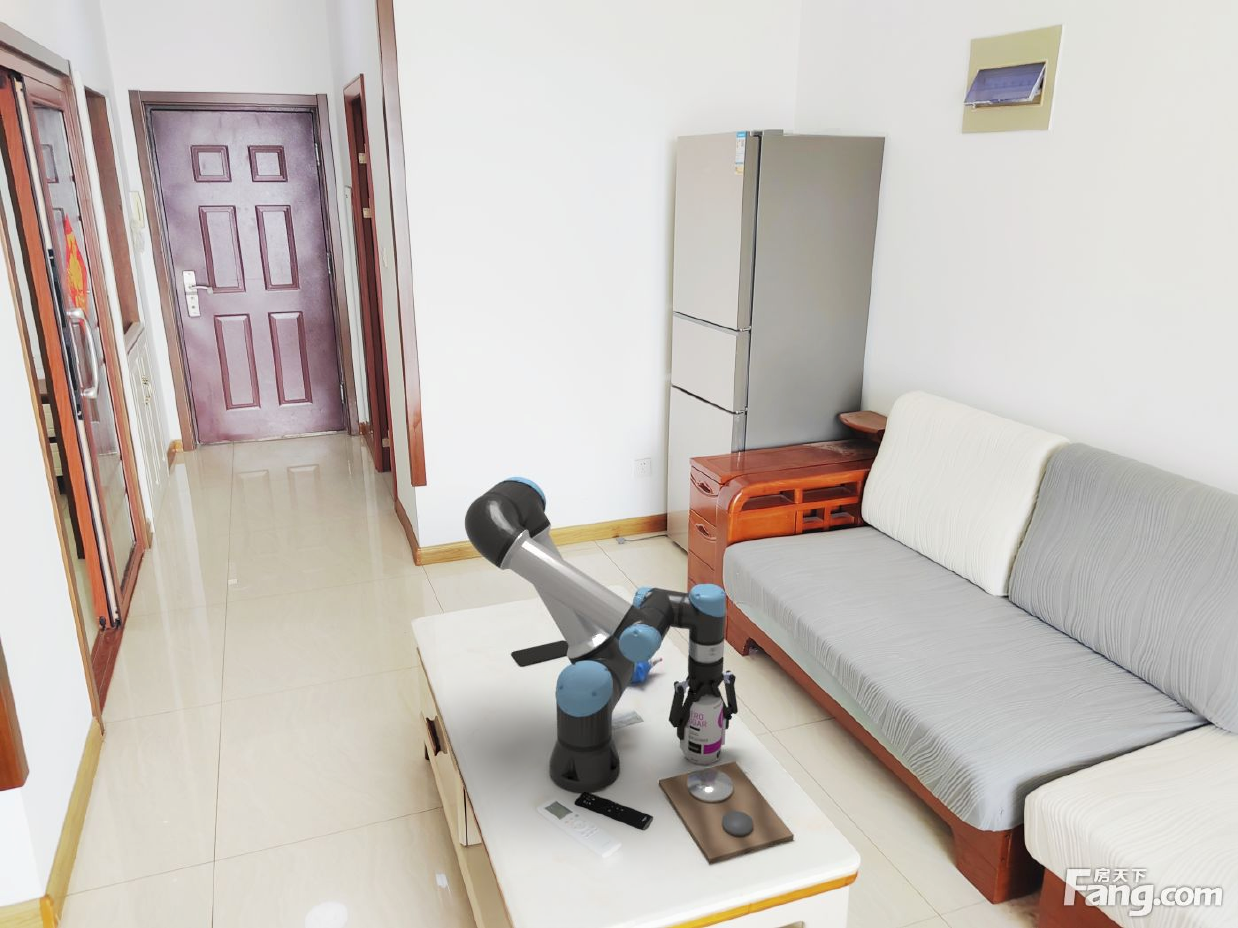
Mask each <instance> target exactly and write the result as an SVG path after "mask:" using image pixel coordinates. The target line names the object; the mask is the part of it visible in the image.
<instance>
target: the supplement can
mask: <svg viewBox="0 0 1238 928" xmlns="http://www.w3.org/2000/svg"><path fill="white" fill-rule="evenodd" d="M685 700H686V698H684V701H685ZM722 715H723V701H722V699H721V697H717V698H716V696H715V695H714V694H711V695H705V696H702V697H701V698H700V700H699V701H698V702H693V704H692V706H691V708H690V718H689V720H688V722H687V724H686V725H687V726H688V727H689V740H688V754H684V756H685V758H687V759H688V760H689V761H690V762H692V763H694V764H696V765H703V766H704V765H710V764H713V763H715V762H716V761H718V760H719V758H720V757H721V755H722V752H721V751H722V745H721V736H722Z"/></svg>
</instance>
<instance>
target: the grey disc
mask: <svg viewBox="0 0 1238 928" xmlns="http://www.w3.org/2000/svg"><path fill="white" fill-rule="evenodd" d="M722 827H723V829H724V831H725V832H726V833H728V834H730V835H732V836H736V837H743V836H747V835H749V834H750V833H751V832H752V830H753V820H752V818H751V817H750V816H749V815H747V814H746V813H743V812H740V811H732V812H728V813H727V814H725V815H724V816H723V818H722Z"/></svg>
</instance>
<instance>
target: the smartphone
mask: <svg viewBox="0 0 1238 928" xmlns="http://www.w3.org/2000/svg"><path fill="white" fill-rule="evenodd" d="M568 648H569V645H568V643H567V642H566V640H565V639H564V640H561V639H560V640H557V641H553V642H549V643H545V644H540V645H536V646H532V647H527V648H524V649H523V648H522V649H518V650H514V651H511V653H510V654H511V656H510V657H512V658H513V660H514V662H516V664H517V665H518V666H519V667H520V668H524V667H529V666H533V665H537V664H541V663H546V662H549V661H552V660H557V659H560V658H565V657H567V652H568Z"/></svg>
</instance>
